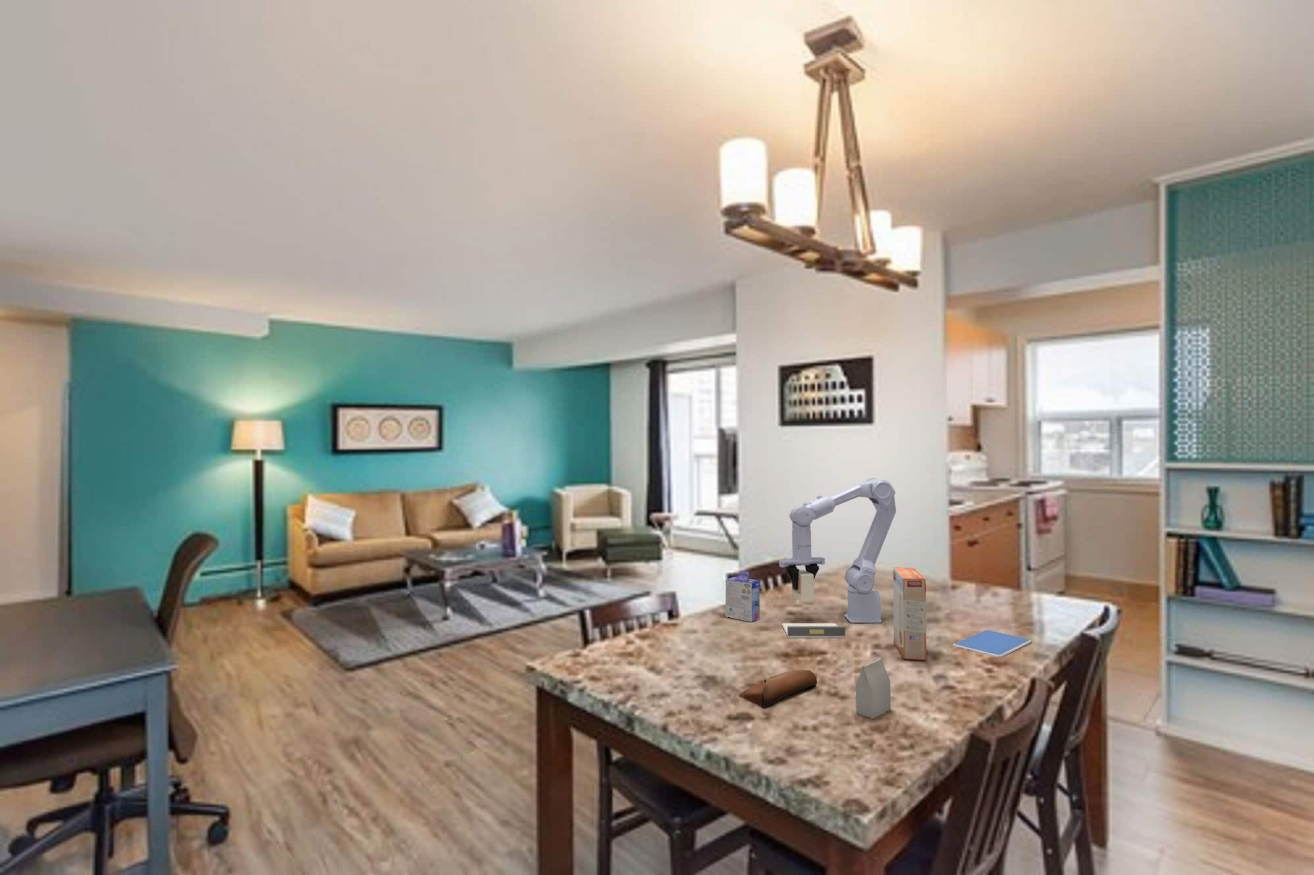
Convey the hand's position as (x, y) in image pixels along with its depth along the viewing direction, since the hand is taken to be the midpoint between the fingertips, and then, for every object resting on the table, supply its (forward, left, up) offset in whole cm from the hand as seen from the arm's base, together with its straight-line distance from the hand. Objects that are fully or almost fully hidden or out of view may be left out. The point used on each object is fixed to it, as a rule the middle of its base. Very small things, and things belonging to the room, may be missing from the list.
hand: (802, 588), depth 192 cm
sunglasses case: (+16, +54, -11) cm, 57 cm away
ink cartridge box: (+18, -3, -10) cm, 21 cm away
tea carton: (0, 0, -3) cm, 3 cm away
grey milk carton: (-3, +64, -10) cm, 65 cm away
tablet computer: (-47, +22, -11) cm, 53 cm away
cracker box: (-23, +28, -10) cm, 37 cm away
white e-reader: (-1, +11, -10) cm, 15 cm away
